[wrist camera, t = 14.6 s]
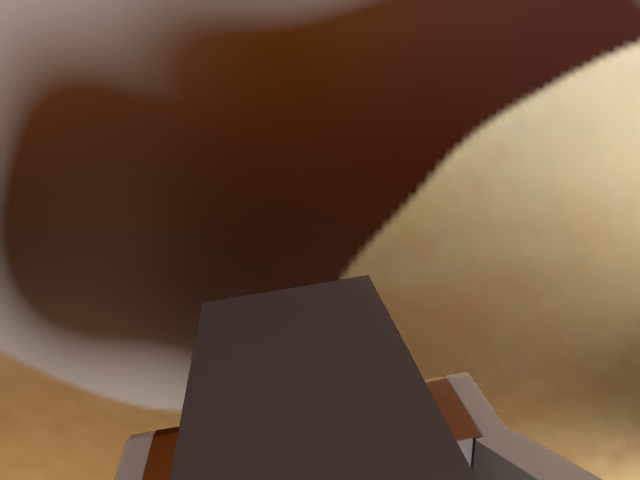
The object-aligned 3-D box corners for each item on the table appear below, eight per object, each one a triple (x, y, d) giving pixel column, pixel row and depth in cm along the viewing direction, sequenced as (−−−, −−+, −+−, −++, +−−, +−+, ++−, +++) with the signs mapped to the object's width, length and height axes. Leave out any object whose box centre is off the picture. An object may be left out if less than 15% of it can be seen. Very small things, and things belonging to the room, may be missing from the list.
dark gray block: (368, 275, 10) (503, 530, 5) (374, 396, 12) (479, 686, 6) (201, 302, 10) (144, 615, 4) (233, 424, 11) (220, 757, 6)
